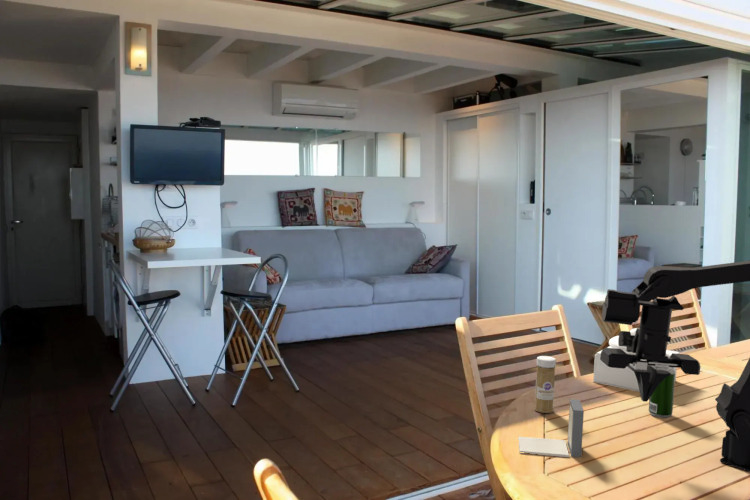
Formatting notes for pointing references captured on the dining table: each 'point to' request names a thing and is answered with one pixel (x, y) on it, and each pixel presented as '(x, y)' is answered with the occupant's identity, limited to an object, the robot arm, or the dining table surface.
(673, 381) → the beer can
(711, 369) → the dining table surface
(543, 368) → the sprinkles bottle
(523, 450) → the plate
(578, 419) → the slate tile
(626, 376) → the butter dish
